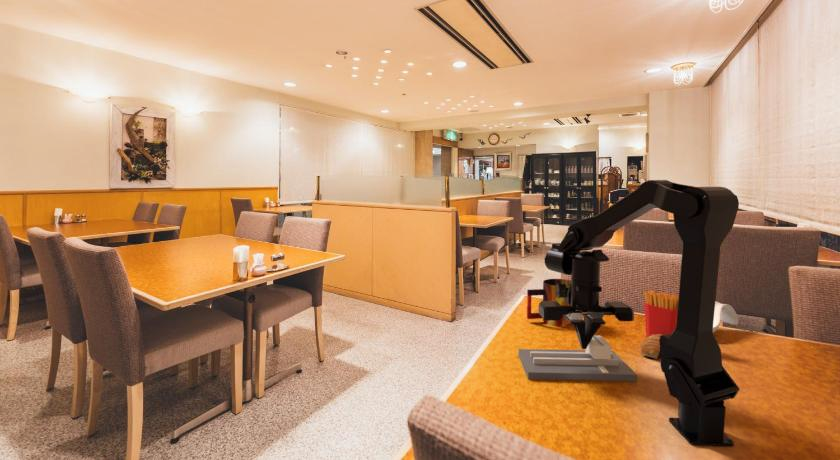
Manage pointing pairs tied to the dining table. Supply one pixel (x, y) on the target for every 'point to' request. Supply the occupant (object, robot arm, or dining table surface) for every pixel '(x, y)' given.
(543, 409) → the dining table surface
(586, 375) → the grey slider panel
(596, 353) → the block
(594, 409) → the dining table surface
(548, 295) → the mug
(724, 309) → the spoon rest
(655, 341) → the pastry
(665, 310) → the french fries
